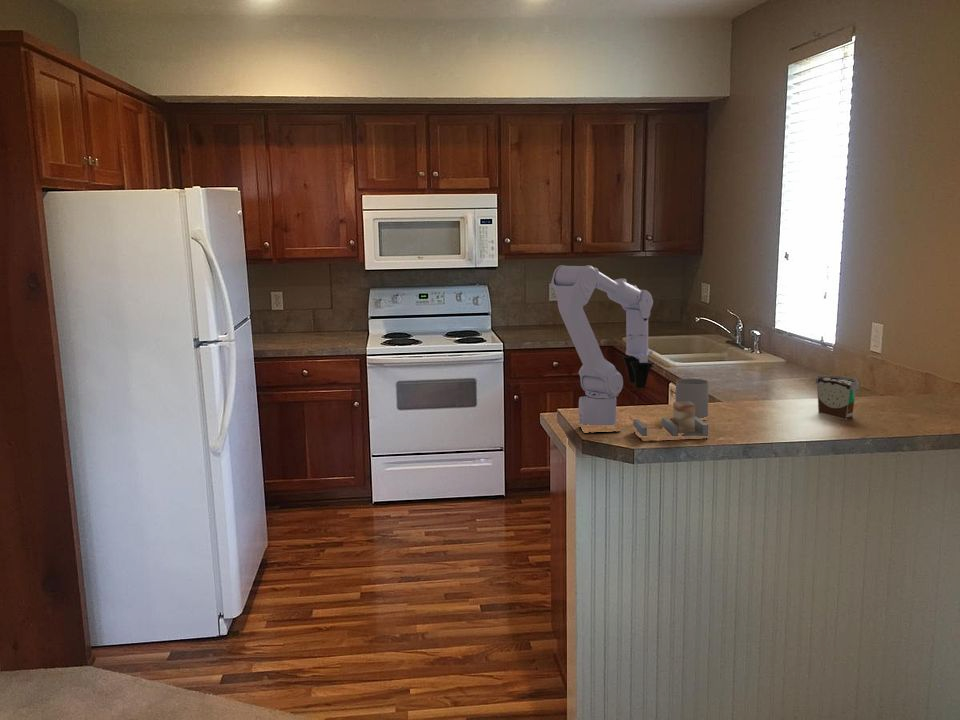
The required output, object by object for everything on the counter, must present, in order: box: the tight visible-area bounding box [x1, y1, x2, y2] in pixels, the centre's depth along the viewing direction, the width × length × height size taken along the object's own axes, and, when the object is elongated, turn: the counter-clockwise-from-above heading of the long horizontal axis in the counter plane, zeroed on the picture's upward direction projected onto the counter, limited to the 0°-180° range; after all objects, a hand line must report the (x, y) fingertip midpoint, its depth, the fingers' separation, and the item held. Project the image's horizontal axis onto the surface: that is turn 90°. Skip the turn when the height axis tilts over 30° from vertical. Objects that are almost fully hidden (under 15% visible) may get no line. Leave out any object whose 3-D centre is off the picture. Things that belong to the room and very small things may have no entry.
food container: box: [814, 374, 860, 421], centre depth 205 cm, size 12×6×10 cm, turn 22°
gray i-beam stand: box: [632, 416, 709, 437], centre depth 191 cm, size 16×9×4 cm, turn 93°
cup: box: [675, 378, 710, 418], centre depth 208 cm, size 8×8×10 cm
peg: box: [673, 401, 695, 433], centre depth 191 cm, size 4×4×7 cm
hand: (637, 385), depth 207 cm, fingers open, 7 cm apart
